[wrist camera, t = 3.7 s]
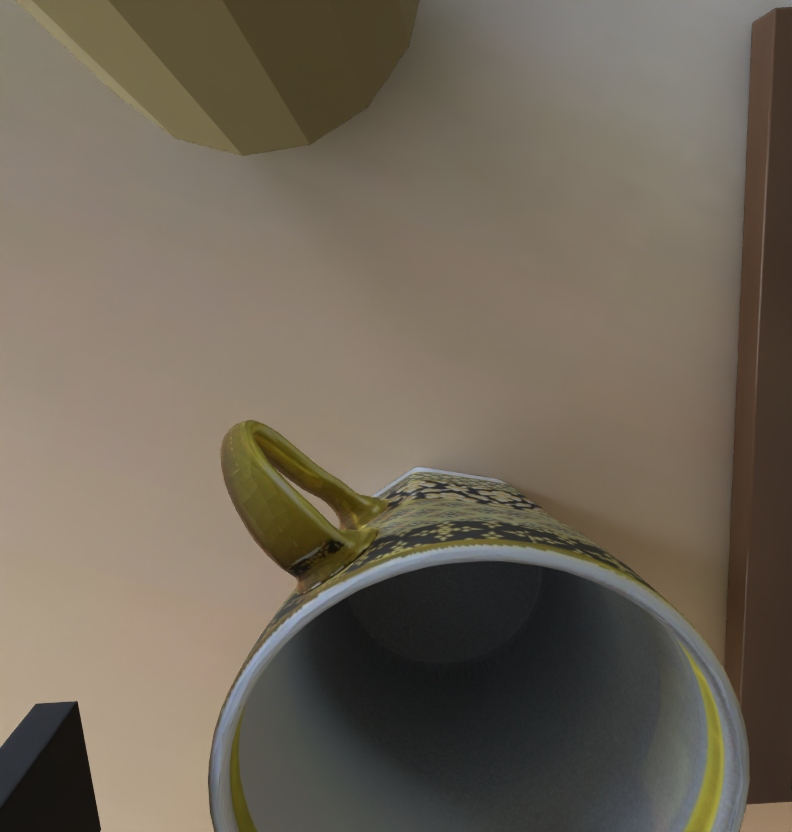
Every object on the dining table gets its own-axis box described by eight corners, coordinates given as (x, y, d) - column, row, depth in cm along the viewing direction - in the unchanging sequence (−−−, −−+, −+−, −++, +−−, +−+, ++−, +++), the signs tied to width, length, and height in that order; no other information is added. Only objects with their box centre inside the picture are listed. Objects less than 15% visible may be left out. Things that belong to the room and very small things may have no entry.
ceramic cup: (654, 597, 23) (848, 849, 13) (404, 753, 24) (414, 1089, 15) (426, 265, 21) (459, 276, 11) (160, 457, 22) (-24, 622, 12)
